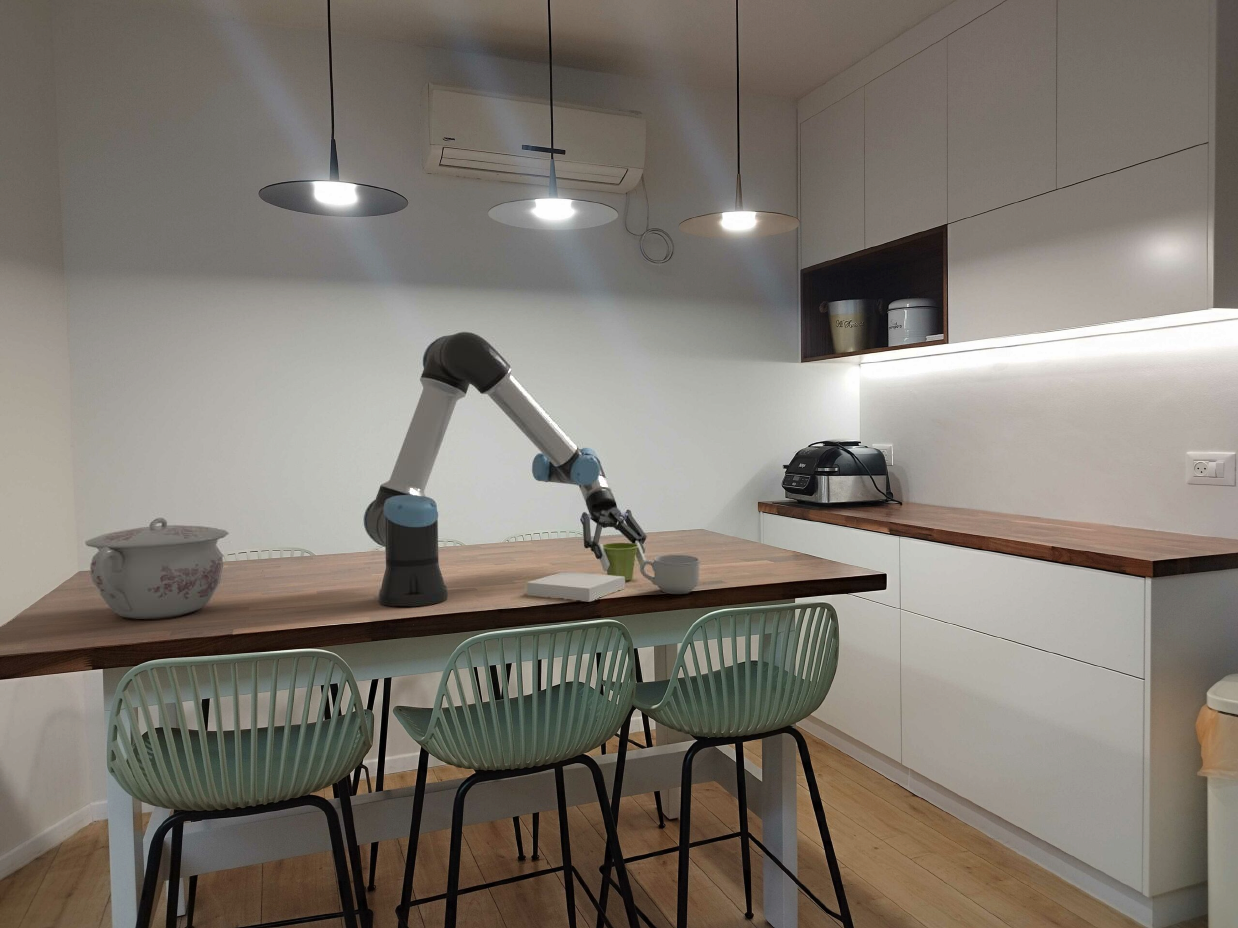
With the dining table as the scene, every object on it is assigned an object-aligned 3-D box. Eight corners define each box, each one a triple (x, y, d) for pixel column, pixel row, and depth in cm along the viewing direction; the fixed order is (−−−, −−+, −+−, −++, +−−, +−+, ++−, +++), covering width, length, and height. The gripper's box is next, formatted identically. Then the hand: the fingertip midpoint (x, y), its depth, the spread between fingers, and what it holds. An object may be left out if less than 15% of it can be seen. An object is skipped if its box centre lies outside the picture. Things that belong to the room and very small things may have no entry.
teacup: (700, 587, 207) (700, 554, 206) (700, 596, 196) (699, 561, 195) (642, 587, 208) (641, 554, 208) (638, 596, 197) (638, 561, 197)
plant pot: (646, 579, 218) (646, 544, 218) (621, 584, 211) (620, 549, 211) (619, 574, 224) (619, 541, 224) (594, 580, 218) (593, 546, 217)
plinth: (526, 595, 200) (526, 582, 200) (565, 583, 214) (565, 571, 214) (589, 601, 192) (589, 588, 192) (625, 589, 206) (624, 576, 206)
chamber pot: (214, 594, 207) (210, 508, 206) (247, 613, 186) (243, 517, 185) (76, 612, 190) (72, 518, 189) (95, 635, 168) (90, 529, 167)
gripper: (632, 504, 236) (660, 571, 222) (556, 509, 226) (580, 579, 213) (640, 486, 231) (669, 553, 217) (563, 490, 221) (588, 560, 208)
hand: (625, 566), depth 215 cm, fingers closed on plant pot, 9 cm apart
